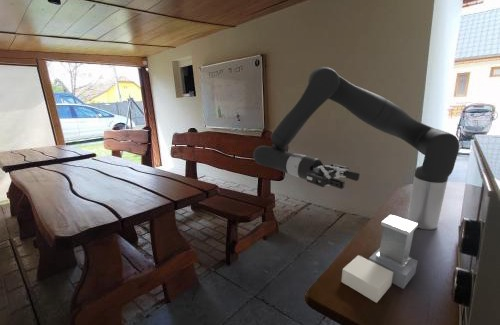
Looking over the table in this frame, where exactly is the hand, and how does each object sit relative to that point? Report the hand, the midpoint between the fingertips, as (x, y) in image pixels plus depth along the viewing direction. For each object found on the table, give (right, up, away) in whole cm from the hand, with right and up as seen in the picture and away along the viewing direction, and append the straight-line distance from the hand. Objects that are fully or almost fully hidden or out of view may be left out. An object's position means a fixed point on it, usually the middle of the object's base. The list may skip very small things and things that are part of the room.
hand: (351, 181), depth 73 cm
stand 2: (+10, -24, -3) cm, 26 cm away
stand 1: (+1, -26, -7) cm, 26 cm away
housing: (+9, -20, -4) cm, 23 cm away
